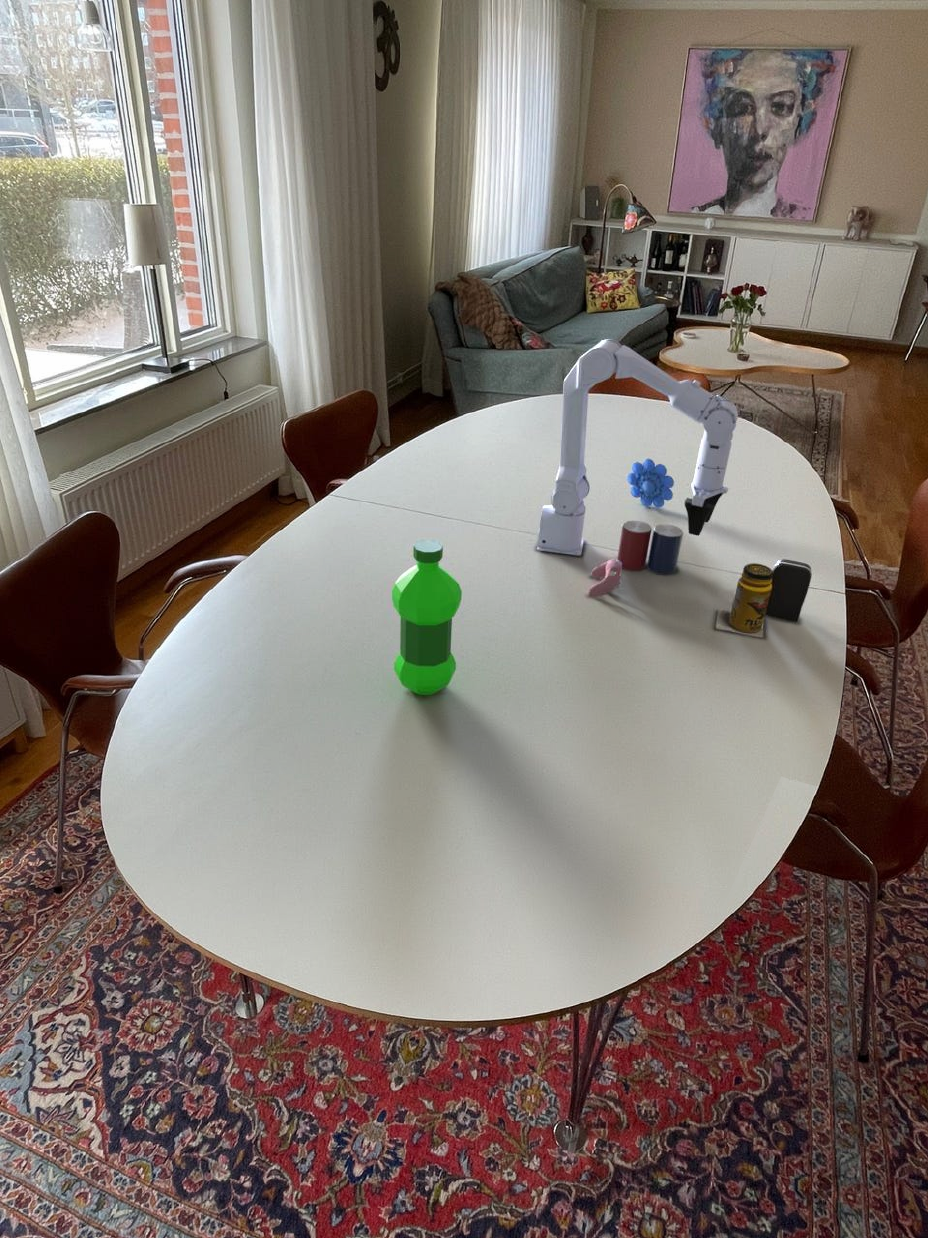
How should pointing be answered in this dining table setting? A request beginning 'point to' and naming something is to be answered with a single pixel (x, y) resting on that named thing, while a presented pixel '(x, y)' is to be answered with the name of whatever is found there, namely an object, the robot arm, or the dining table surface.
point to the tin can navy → (665, 549)
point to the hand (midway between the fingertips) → (698, 527)
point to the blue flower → (650, 483)
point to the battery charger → (788, 589)
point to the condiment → (748, 602)
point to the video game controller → (606, 577)
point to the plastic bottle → (426, 621)
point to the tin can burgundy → (634, 544)
